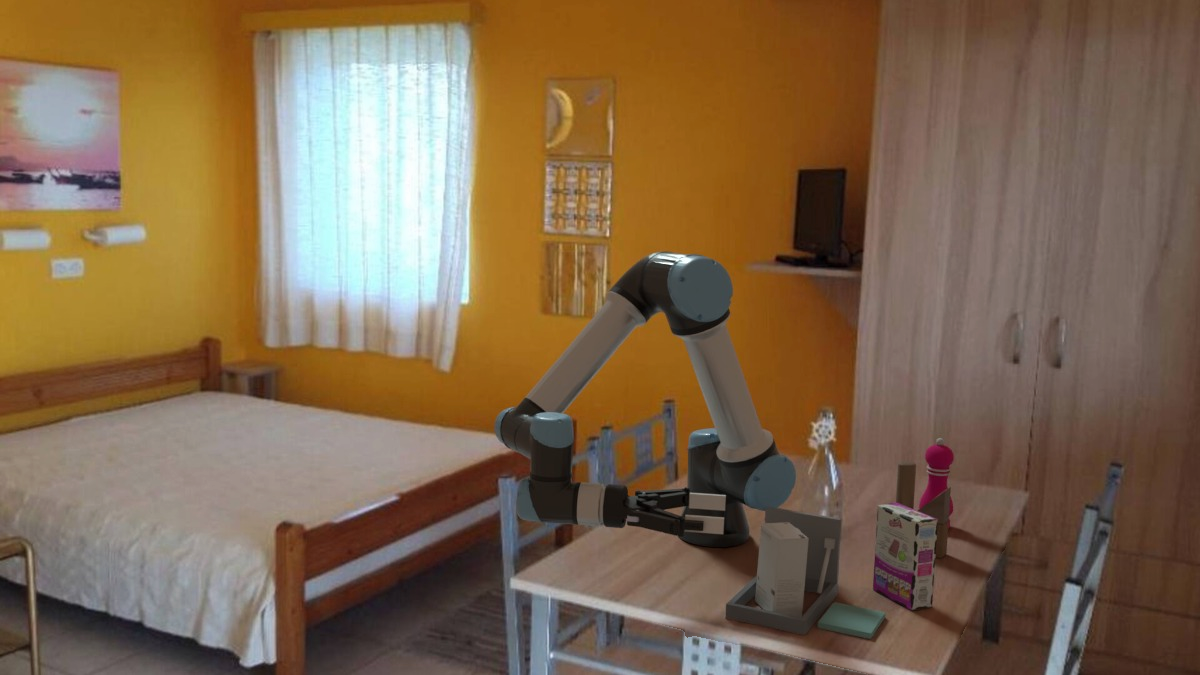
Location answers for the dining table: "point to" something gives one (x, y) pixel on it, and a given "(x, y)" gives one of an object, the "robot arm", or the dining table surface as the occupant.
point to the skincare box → (781, 568)
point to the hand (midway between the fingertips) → (724, 514)
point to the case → (817, 578)
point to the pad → (851, 620)
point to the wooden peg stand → (934, 508)
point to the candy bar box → (905, 555)
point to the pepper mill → (937, 472)
